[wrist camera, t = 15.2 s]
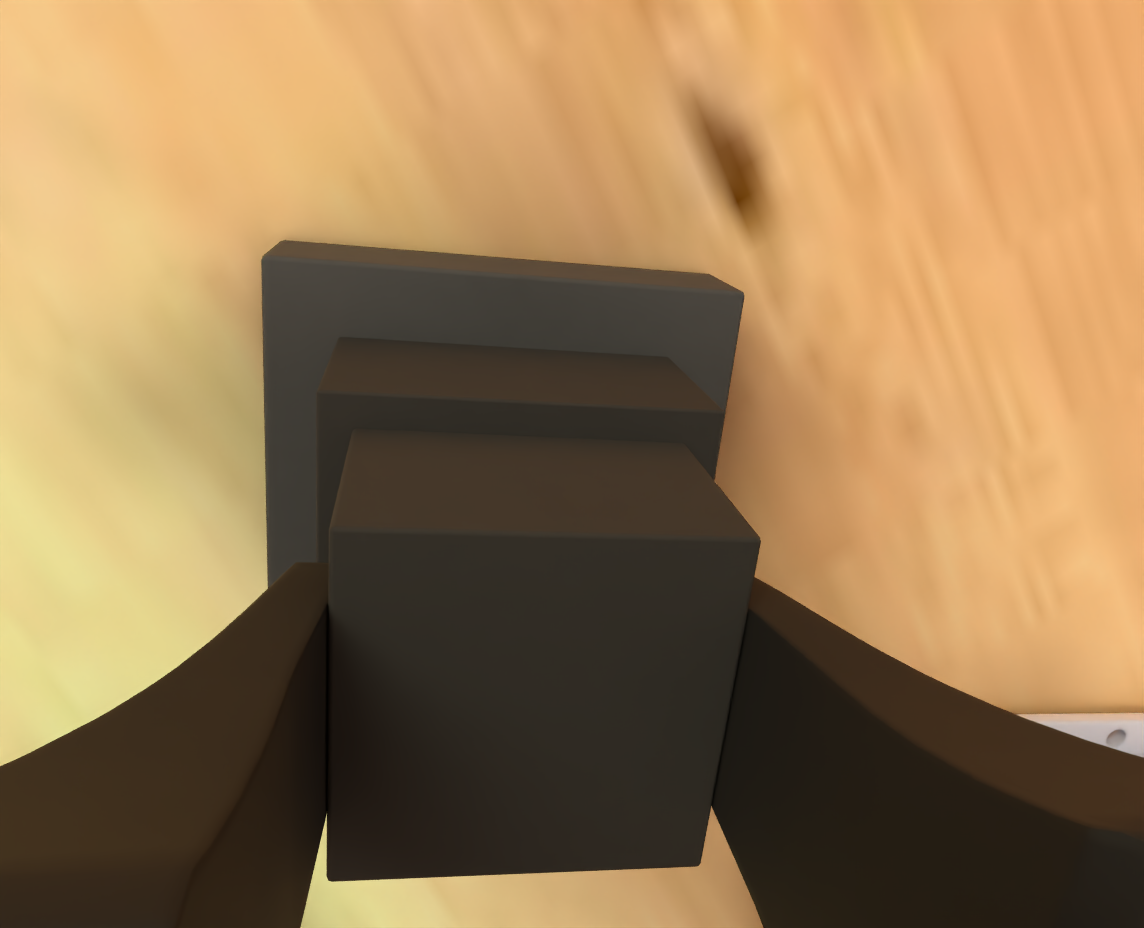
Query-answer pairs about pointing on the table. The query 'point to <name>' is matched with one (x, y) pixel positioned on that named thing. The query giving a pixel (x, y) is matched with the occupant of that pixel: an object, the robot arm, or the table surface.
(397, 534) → the top pad
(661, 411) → the middle pad
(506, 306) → the base pad
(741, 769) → the robot arm
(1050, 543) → the table surface
